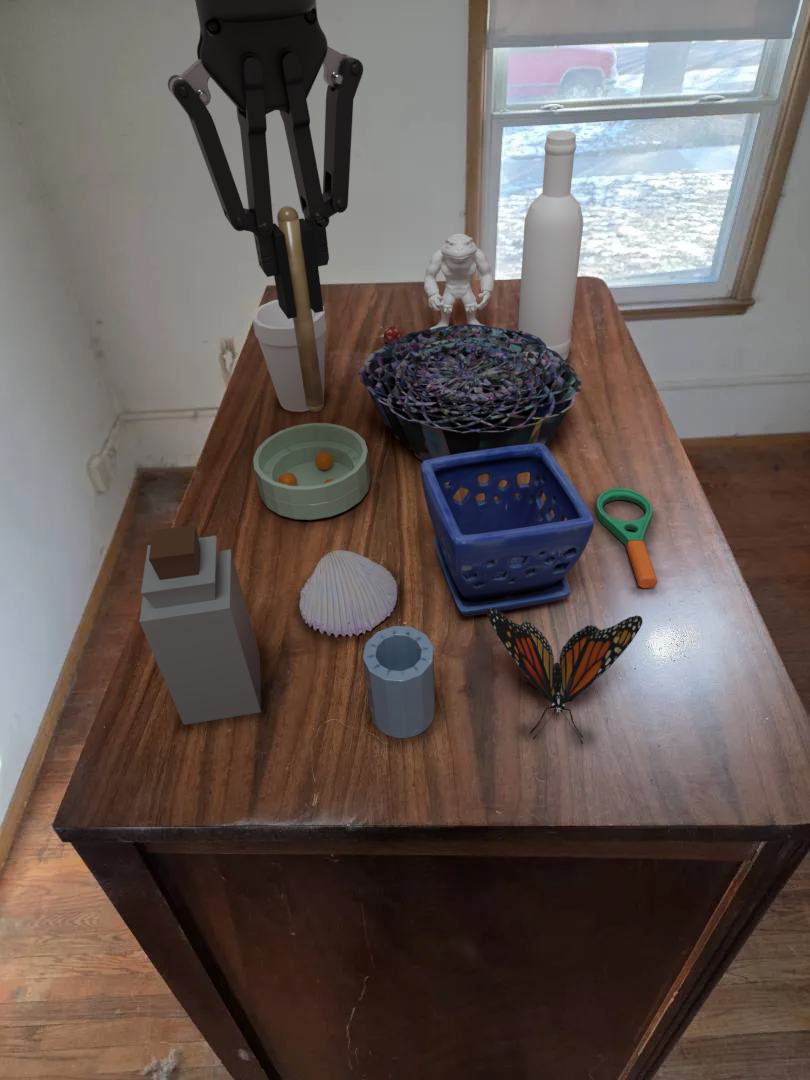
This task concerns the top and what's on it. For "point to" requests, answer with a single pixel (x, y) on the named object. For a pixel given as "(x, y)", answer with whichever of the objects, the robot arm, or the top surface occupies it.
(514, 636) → the butterfly
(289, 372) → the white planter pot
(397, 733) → the holder
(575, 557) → the flower pot
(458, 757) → the top surface
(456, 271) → the figurine
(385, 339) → the die
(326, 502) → the bowl
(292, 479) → the bead
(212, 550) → the perfume bottle
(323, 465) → the bead
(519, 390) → the decorative bowl
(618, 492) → the magnifying glass
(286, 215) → the stick
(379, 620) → the seashell
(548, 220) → the bottle
